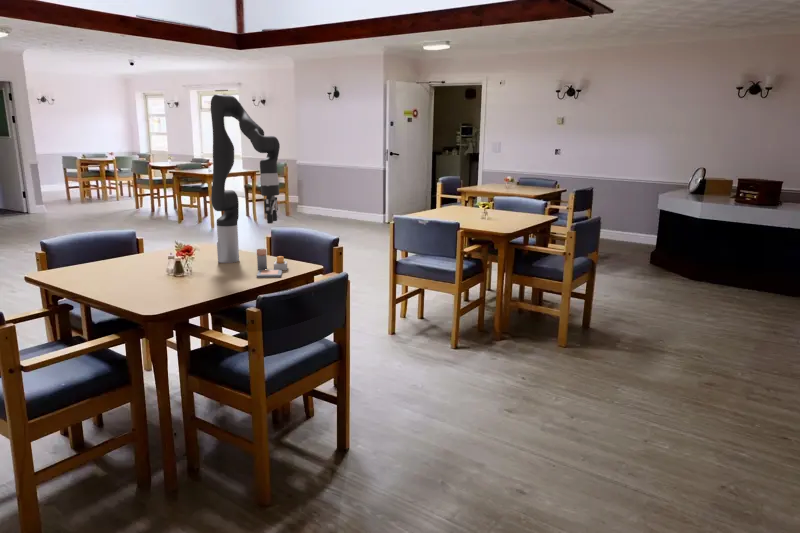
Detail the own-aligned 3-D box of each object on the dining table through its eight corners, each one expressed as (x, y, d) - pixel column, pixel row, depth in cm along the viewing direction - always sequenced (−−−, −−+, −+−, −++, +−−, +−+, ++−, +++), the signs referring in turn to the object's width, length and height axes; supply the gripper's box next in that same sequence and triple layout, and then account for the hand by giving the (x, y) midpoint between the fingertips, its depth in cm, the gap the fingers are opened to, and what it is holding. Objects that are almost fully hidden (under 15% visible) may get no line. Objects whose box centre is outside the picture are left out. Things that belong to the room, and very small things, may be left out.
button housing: (273, 270, 249) (273, 264, 248) (274, 267, 254) (274, 261, 253) (286, 270, 250) (286, 263, 249) (287, 267, 255) (287, 261, 254)
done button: (276, 264, 250) (276, 257, 249) (277, 262, 252) (277, 256, 252) (283, 264, 250) (283, 257, 249) (284, 262, 253) (283, 256, 252)
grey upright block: (257, 270, 248) (256, 250, 246) (257, 268, 252) (257, 248, 250) (266, 270, 249) (266, 250, 247) (267, 268, 253) (266, 248, 251)
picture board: (256, 277, 236) (256, 275, 236) (258, 272, 246) (258, 269, 245) (281, 277, 238) (280, 274, 237) (282, 271, 247) (282, 269, 247)
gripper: (264, 183, 246) (267, 220, 249) (256, 185, 232) (259, 224, 235) (282, 183, 246) (284, 220, 249) (274, 184, 232) (277, 223, 235)
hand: (272, 222), depth 242 cm, fingers open, 8 cm apart
